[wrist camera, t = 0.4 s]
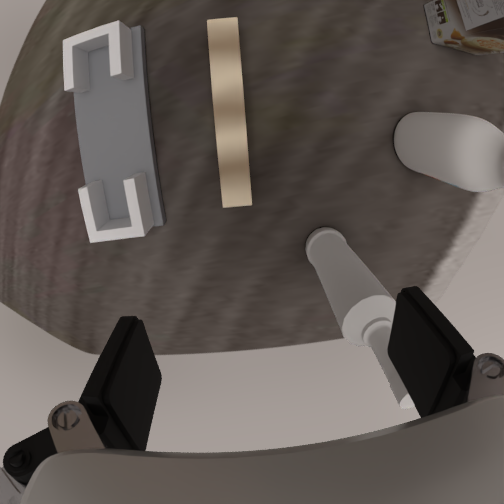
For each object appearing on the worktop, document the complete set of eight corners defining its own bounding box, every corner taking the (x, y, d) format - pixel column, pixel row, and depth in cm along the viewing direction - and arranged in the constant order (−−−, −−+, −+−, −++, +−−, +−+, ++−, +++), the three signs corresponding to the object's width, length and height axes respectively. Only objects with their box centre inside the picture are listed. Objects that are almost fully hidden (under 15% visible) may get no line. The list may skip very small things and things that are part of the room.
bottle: (314, 270, 40) (385, 432, 17) (296, 238, 38) (367, 399, 15) (349, 250, 39) (450, 395, 16) (333, 217, 37) (445, 354, 14)
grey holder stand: (77, 49, 27) (54, 41, 22) (144, 28, 27) (129, 15, 22) (101, 229, 36) (83, 246, 31) (166, 221, 36) (154, 237, 31)
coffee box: (431, 44, 28) (515, 26, 13) (422, 4, 25) (498, -29, 11) (477, 56, 28) (558, 51, 13) (470, 18, 25) (546, 2, 11)
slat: (210, 31, 28) (206, 20, 24) (237, 29, 28) (237, 17, 24) (224, 197, 36) (222, 207, 32) (250, 195, 36) (252, 205, 32)
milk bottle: (387, 163, 35) (500, 211, 16) (396, 104, 32) (517, 108, 13) (434, 175, 35) (545, 226, 17) (443, 121, 32) (561, 141, 14)
